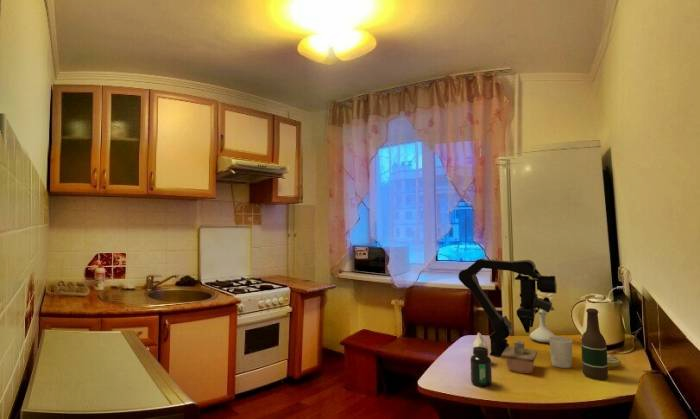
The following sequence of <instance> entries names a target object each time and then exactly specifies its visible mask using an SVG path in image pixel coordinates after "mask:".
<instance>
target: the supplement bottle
mask: <svg viewBox="0 0 700 419" xmlns="http://www.w3.org/2000/svg"><path fill="white" fill-rule="evenodd" d="M472 354H473V355H472V356H471V357H470V378H471V379H470V381H471V383H472V385H473V386H475V387H479V388H490V387H491V386H492V383H493V379H492V378H493V377H492V375H493V374H492V359H491V358H490V357H489V348H488V349H487V348H484V347H474V348H472Z"/></svg>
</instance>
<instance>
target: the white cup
mask: <svg viewBox="0 0 700 419" xmlns="http://www.w3.org/2000/svg"><path fill="white" fill-rule="evenodd" d="M548 343H549V350H550V359H551V364H552V366H554V367H556V368H562V369H570V368H572V362H573V361H572V359H573V339H571V338H570V337H566V336H560V335H555V336H551V337H549V342H548Z"/></svg>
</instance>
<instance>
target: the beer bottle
mask: <svg viewBox="0 0 700 419" xmlns="http://www.w3.org/2000/svg"><path fill="white" fill-rule="evenodd" d="M585 313H586V314H587V315H586V316H587V317H586V328H585V329H586V330H585V332H584V333H583V334H582V337H581V342H580V344H581V345H580V347H581V368H582V374H583V375H584V376H585V377H586V378H588V379H590V380H594V381H605V380H607V379H608V378H609V369H608V365H607V354H608V346H607V341H606V339H605V337H604V335H603V334H602V333H601V329H600V323H599V315H598V314H600V312H599V310H598V309H597V308H592V307H591V308H586V311H585Z"/></svg>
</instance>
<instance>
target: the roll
mask: <svg viewBox="0 0 700 419" xmlns="http://www.w3.org/2000/svg"><path fill="white" fill-rule="evenodd" d="M475 338H476V339H475V340H474V341H473V345H472V347H473V348H474V347H484V348H487V349H488V350H489V346H488V342H487V340H485V338H484V337H483V335H482V334H481V333H480V332H477V334H476V337H475ZM473 348H472V349H473Z"/></svg>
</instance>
